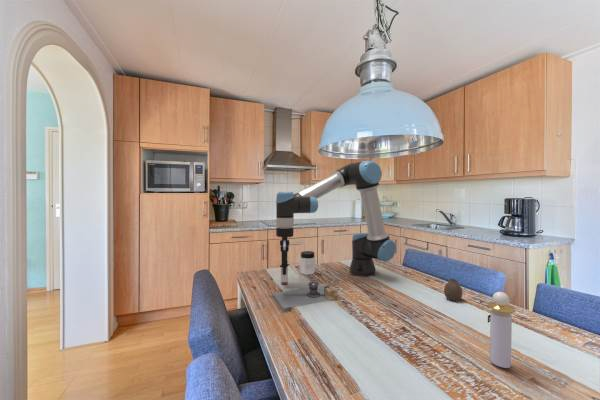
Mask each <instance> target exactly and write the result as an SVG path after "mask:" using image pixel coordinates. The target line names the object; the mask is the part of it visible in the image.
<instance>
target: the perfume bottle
mask: <svg viewBox="0 0 600 400" xmlns="http://www.w3.org/2000/svg"><path fill="white" fill-rule="evenodd" d="M492 299H493V300H492V301H489V302H487V307H488V308H489V309H491V310H490V311H489V312H490V314H489V315H487V323H488V324H490V325H489V327H490V328H489V329H490V330H489V361H490V362H491V363H492V364H494V365H495V366H497V367H499V368H503V369H509V368H511V367H512V332H513V331H512V330H513V329H512V326H513V325H512V323H513V322H512V319H513V317H512V314H513V313H515V312H516V310H515V307H514V306H512V305H510V297H509V295H508V294H507V293H506V292H503V291H495V292H494V294H493V295H492Z"/></svg>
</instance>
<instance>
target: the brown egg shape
mask: <svg viewBox="0 0 600 400" xmlns="http://www.w3.org/2000/svg"><path fill="white" fill-rule="evenodd" d="M443 292H444V296H445V298H446V299H447V300H448V299H449V301H450V300H452V301H451V302H459V301H460V300H461V299H462V298H463V288H462V286H461V285H460V284H459V283H458V281H457V279H455V278H450V279H449V281H448V282H447V283H446V284H445V286H444V290H443Z"/></svg>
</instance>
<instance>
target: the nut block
mask: <svg viewBox="0 0 600 400" xmlns="http://www.w3.org/2000/svg"><path fill="white" fill-rule="evenodd" d="M325 297H326V298H327V299H328V300H329V301H328V302H330V301H336V300H339V299H338V298H339V296H338V288H336V287H334V286H332V287H331V286H330V288H325Z"/></svg>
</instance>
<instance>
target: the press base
mask: <svg viewBox="0 0 600 400" xmlns="http://www.w3.org/2000/svg"><path fill="white" fill-rule="evenodd" d="M272 298H273V299H274V301H275V302H276V304H277V306H279V308H280V309H281V311H282V312H283V313H287V312H292V311H293V310H292V309H291V308H294V307H300V306H301V307H302V306H307V305H311V304H319V303H325V302H330V301H329V300H328V299H327V298H326V297H325V295H324V289H315V290H312V289H291V290H285V291H279V292H273V293H272ZM337 300H340V298H339V297H338V299H337Z"/></svg>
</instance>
